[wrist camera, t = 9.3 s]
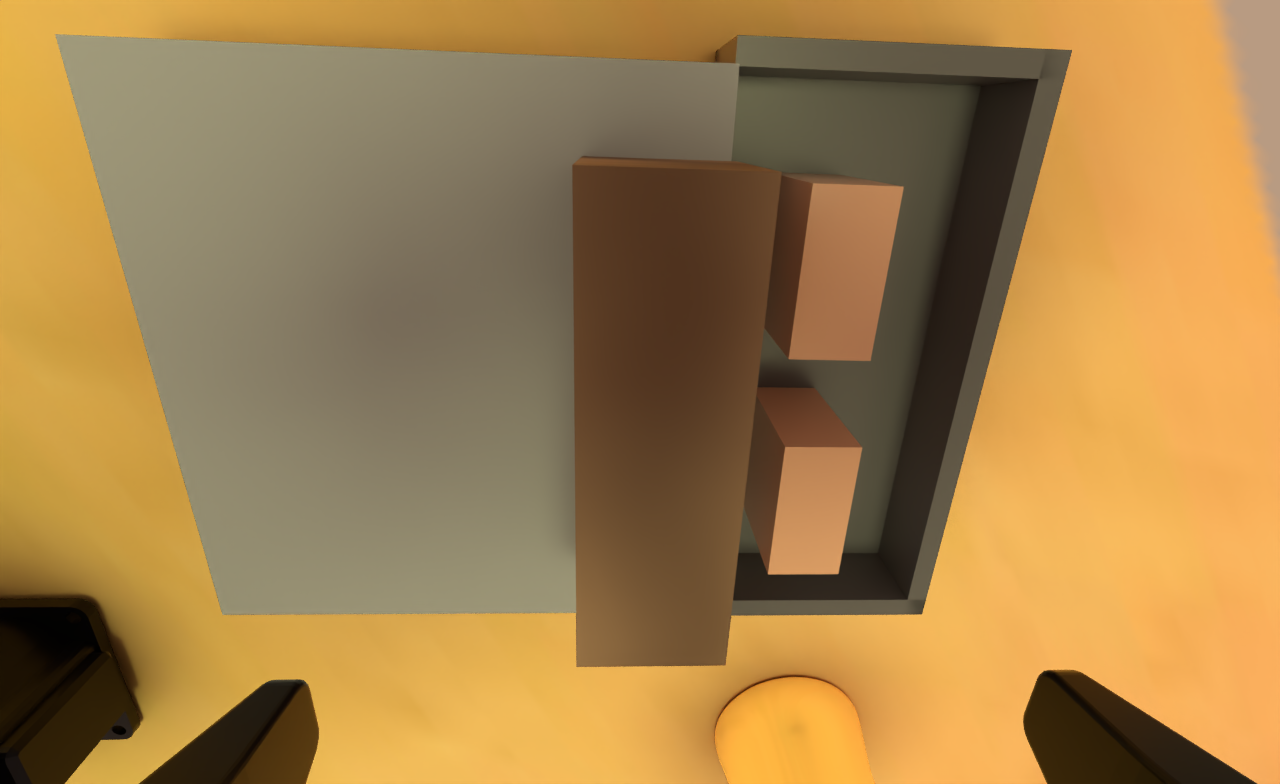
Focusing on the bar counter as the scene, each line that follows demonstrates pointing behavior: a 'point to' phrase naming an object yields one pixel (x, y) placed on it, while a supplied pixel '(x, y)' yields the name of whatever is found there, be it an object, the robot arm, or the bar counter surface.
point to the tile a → (799, 481)
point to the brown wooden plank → (664, 398)
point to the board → (370, 299)
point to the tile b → (830, 265)
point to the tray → (899, 276)
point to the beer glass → (792, 735)
